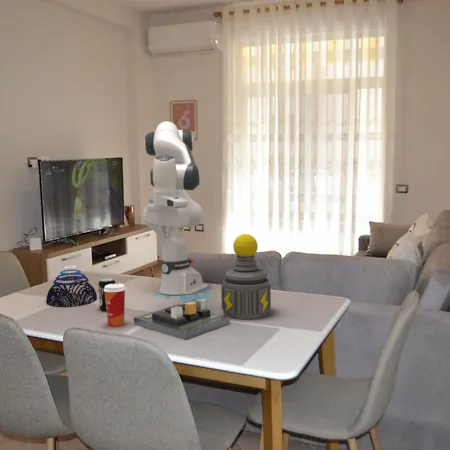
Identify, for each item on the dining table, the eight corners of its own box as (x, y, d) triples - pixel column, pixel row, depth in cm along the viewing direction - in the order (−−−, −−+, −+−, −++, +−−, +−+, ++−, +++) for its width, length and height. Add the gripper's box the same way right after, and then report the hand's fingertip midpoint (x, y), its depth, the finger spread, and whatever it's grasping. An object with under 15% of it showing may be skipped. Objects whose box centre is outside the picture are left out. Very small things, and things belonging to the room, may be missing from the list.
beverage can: (112, 312, 215) (111, 281, 213) (96, 311, 216) (95, 280, 215) (119, 307, 221) (118, 277, 220) (103, 306, 223) (102, 277, 221)
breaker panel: (178, 310, 216) (178, 290, 214) (229, 323, 198) (229, 301, 197) (133, 324, 199) (133, 302, 198) (185, 339, 182) (184, 315, 181)
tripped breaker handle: (191, 311, 197) (190, 301, 197) (196, 312, 195) (196, 302, 195) (185, 313, 195) (184, 303, 194) (190, 314, 193) (189, 304, 193)
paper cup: (106, 321, 203) (104, 283, 201) (127, 320, 204) (126, 282, 202) (103, 328, 195) (101, 288, 194) (126, 327, 196) (124, 288, 194)
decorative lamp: (245, 303, 225) (244, 229, 221) (281, 312, 211) (281, 233, 207) (210, 313, 212) (209, 234, 208) (247, 323, 198) (246, 239, 194)
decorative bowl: (35, 305, 227) (33, 270, 225) (66, 293, 246) (64, 261, 244) (77, 309, 220) (75, 273, 218) (105, 297, 238) (104, 263, 236)
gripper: (140, 199, 209) (141, 236, 211) (178, 202, 196) (179, 241, 198) (153, 198, 214) (154, 234, 216) (191, 201, 200) (192, 239, 202)
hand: (166, 237), depth 207 cm, fingers closed
